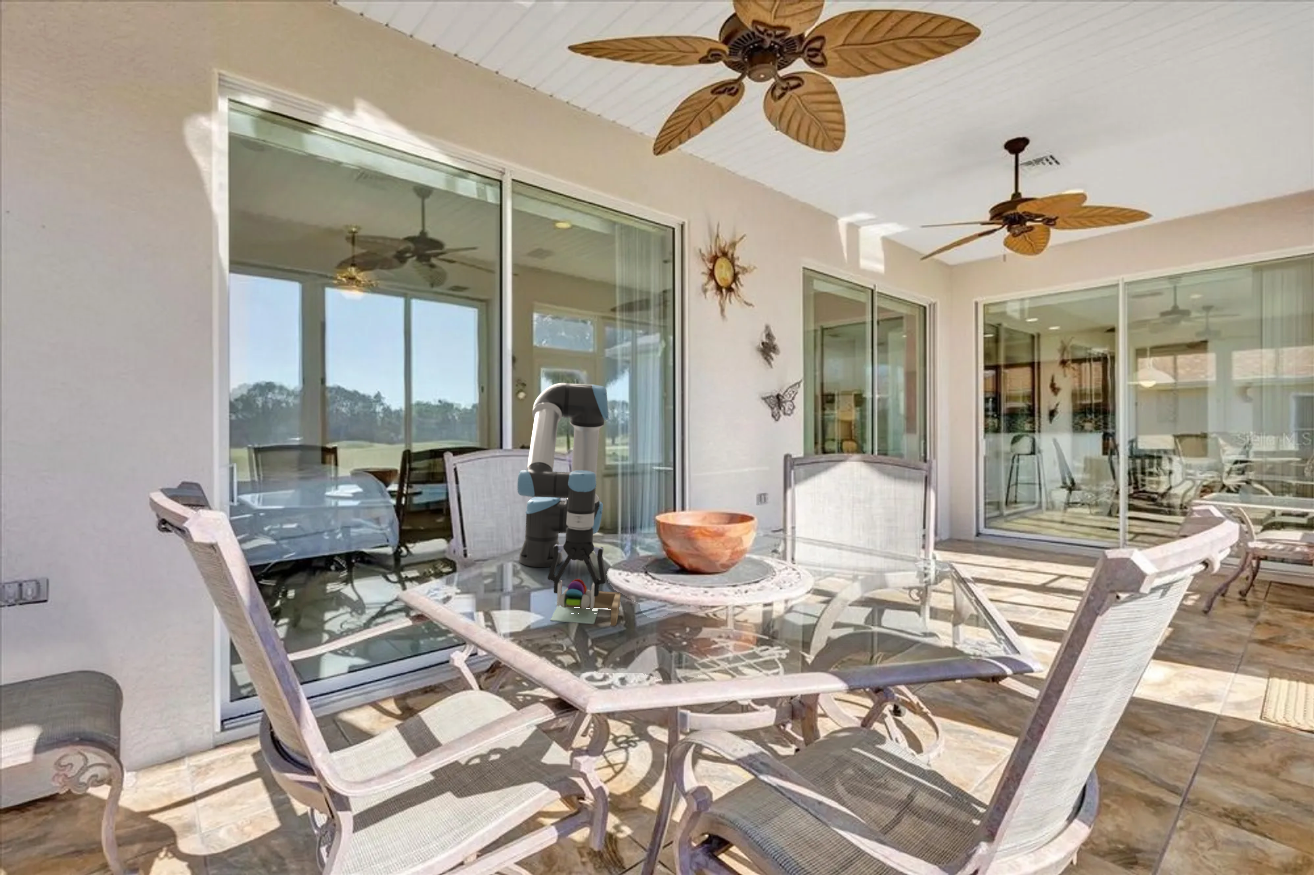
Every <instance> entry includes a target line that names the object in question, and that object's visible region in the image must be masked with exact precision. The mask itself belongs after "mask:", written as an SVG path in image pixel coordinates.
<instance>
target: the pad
mask: <svg viewBox="0 0 1314 875" xmlns="http://www.w3.org/2000/svg"><path fill="white" fill-rule="evenodd" d="M597 612H599V610H598V611H592V609H582V608H574V607H566V608H563V607H561V606H557V605H556V609H555V610H554V612H553V613H552V616H551V618H550V621H551V622H564V623H577V624H589V625H590V624H591V625H594V624H595V622H596V619H597V616H598V613H597ZM571 613H574V614H571ZM578 613H579V614H578ZM594 613H597V614H594Z"/></svg>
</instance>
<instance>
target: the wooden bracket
mask: <svg viewBox="0 0 1314 875" xmlns="http://www.w3.org/2000/svg"><path fill="white" fill-rule="evenodd" d="M589 590H590V589H589ZM590 591H591V590H590ZM621 596H622V595H621V592H616V591H615V592H614V591H601V590H599V594H598V596H595V602H594V607H593V608H608V609H611V611H610V626H617V623H618V618H619V615H618V613H619V614H620V611H619V607H620V608H621ZM590 606H591V603H590V604H589V606H588V607H587V608H590ZM566 607H580V608H581V605H576V606H572V605H568V604H567V606H566Z"/></svg>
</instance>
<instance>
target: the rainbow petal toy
mask: <svg viewBox="0 0 1314 875" xmlns="http://www.w3.org/2000/svg"><path fill="white" fill-rule="evenodd" d="M590 603H591V591H590V589H588V588H587V586H586V584H585V582H584V581H583V580H582V579H580V578H576V579H573V580H572V581H571V582H570V583H569V584H568V585H567V588H565V590H564V591H563V592H562V595H561V596H560V597H559V604H560V607H563V608H566V606H567V604H568V605H572V606H576V605H581V608H582V609H586V608H587V607H588V606H589V604H590Z"/></svg>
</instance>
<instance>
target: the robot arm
mask: <svg viewBox="0 0 1314 875" xmlns="http://www.w3.org/2000/svg"><path fill="white" fill-rule="evenodd" d="M607 392H608V391H607V388H606V387H605V386H603V385H597V384H594V383H592V384H591V383H568V382H559V383H554V384H552V385H550V386H548V387H547V388H546V389H544V390H543V391H542V392H541V393H540V394H539V395H538V396H537V398H536V399H535V401H534V403H533V405H532V406H533V407H532V412H531V414H532V418H533V419H534V421H533V427H532V434H531V440H530V448H529V454H528V461H527V468H526V469H523V470H520V471H519V473H518V475H517V493H518V494H519V496H523V497H528V498H529V497H530V499H529V500H528V501H527V503H526V509H525V510H526V511H525V515H526V516H525V534H524V537H525V538H524V542H523V543H522V547H521V549H520V552H519V556H518V558H519V559H518V562H519V563H520V564H521V565H524V566H527V567H534V568H549V567H550V568H549V570H548V575H547V580H549V581H552V582H553V593H554V594H556V596H557V597H556V607H557V606H560V604H559V597H560V596H561V595H562V594H563V580H561V577H562V575H563V574H564V572H565V571H566V568H567V567H568V565H569V563H570V561H571V560H572V561H577V560H578V561H582V562H584V564H585V565H586V568H587V570H588V572H589V574H590V577H591V580H592V584H591V606H590V609H593V607H594V602H595V596H598V594H599V591H600V585H604V584H605V583H606V581H607V576H606V568H605V563H604V556H603V554H604V547H603V546H600V547H597V546H594V535H595V534H597V533H598V532H599V530H600V526H601V522H602V516H603V508H604V504H603V502H601V501H600V497H599V495H598V494H597V493H596V490H597V488H596V487H597V472H598V457H599V456H598V455H599V440H600V439H599V438H600V429H601V428H603V427H604V426H605V421H607V420H609V418H610V417H609V406H608V404H609V403H608V394H607ZM562 418H564V419H565V418H566V419H567V418H568V419H569V424H570V425H571V426H572V427H573V446H572V467H571V471H570V472H569V471H566V472H565V471H563V472H562V471H554V462H555V454H556V447H557V444H556V443H557V436H558V435H557V434H558V427H559V422H560V421H561V420H562ZM561 499H566V500H561ZM559 534H565V542H564V544H560V543H559ZM563 550H564V551H565V553H566V555H567V557H566V558H565V560H564V562H563ZM593 552H594V555H595V556H597V557H596V559H597V566H598V572H599V576H598V573H597V571H596V568H595V566H594V563H593V561H592V559H591V554H592V553H593ZM562 562H563V563H562ZM561 563H562V565H561V567H560V569H559V571H558V572H557V573H556V575H555V572H556V569H557V566H558V565H560V564H561ZM599 577H600V578H599ZM560 607H561V606H560Z"/></svg>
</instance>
